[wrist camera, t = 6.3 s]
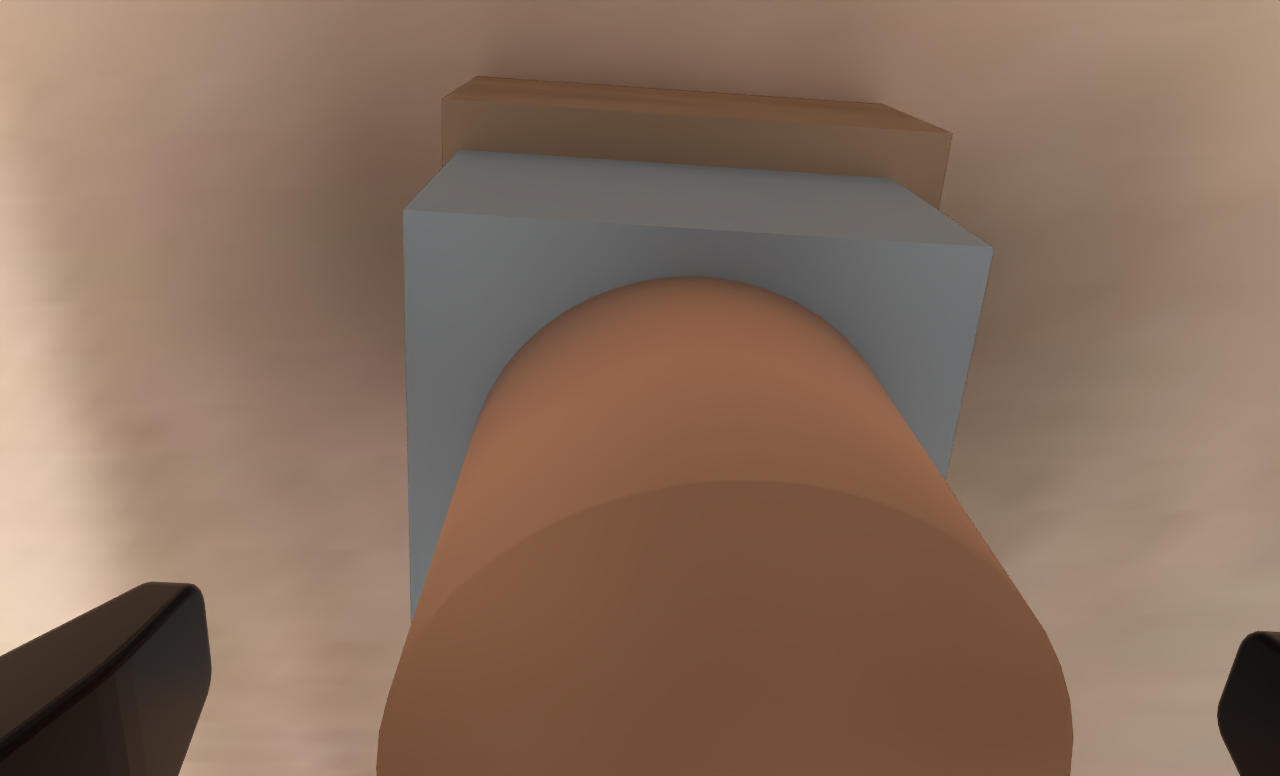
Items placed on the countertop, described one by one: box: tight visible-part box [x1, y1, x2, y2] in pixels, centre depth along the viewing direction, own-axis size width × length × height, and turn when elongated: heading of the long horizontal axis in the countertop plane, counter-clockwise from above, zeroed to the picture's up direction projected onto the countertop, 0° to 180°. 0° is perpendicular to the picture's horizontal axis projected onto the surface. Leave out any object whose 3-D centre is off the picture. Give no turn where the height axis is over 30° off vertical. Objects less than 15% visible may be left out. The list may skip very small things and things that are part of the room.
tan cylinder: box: [376, 276, 1073, 776], centre depth 9 cm, size 5×5×4 cm
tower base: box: [442, 76, 953, 210], centre depth 16 cm, size 7×7×4 cm
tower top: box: [403, 149, 994, 623], centre depth 13 cm, size 6×6×4 cm
